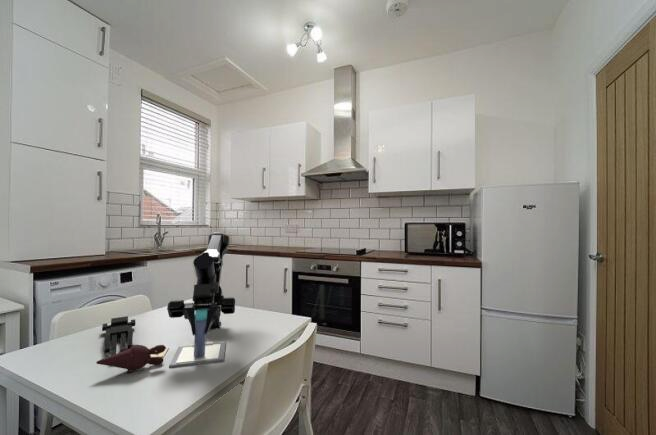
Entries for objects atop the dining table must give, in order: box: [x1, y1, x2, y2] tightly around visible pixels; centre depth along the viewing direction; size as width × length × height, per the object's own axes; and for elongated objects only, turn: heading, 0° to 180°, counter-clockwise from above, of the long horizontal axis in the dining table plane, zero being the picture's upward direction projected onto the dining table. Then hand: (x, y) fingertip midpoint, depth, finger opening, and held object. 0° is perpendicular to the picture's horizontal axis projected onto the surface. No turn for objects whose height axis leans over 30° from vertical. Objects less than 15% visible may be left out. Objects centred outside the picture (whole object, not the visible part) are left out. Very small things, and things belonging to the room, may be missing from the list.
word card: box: [151, 347, 169, 358], centre depth 82 cm, size 6×4×1 cm, turn 18°
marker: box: [193, 309, 207, 358], centre depth 79 cm, size 3×3×13 cm
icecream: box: [95, 343, 167, 374], centre depth 72 cm, size 7×7×15 cm
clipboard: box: [168, 341, 227, 368], centre depth 82 cm, size 12×14×1 cm
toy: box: [101, 315, 136, 356], centre depth 88 cm, size 10×5×30 cm
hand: (199, 334), depth 78 cm, fingers closed on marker, 3 cm apart
